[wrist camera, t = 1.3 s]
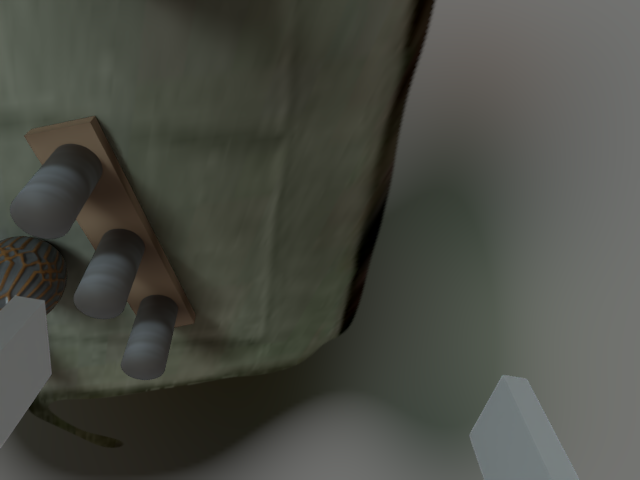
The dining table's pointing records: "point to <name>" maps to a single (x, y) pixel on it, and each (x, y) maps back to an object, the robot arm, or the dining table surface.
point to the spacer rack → (105, 238)
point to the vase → (31, 271)
